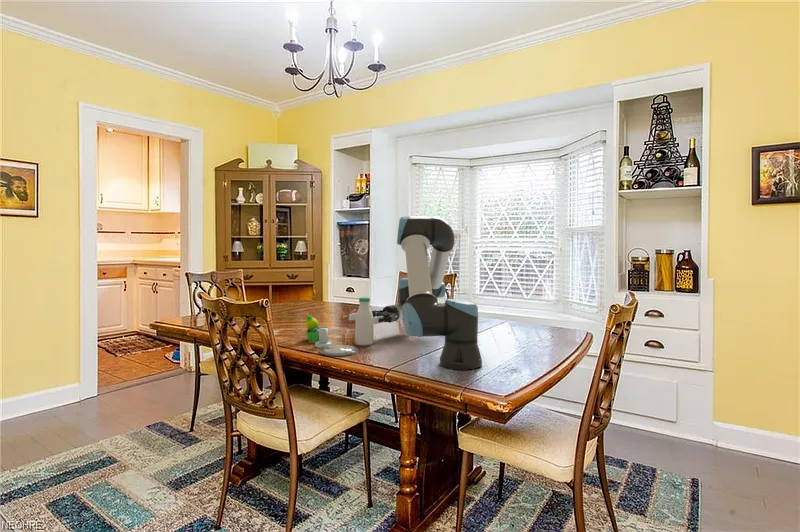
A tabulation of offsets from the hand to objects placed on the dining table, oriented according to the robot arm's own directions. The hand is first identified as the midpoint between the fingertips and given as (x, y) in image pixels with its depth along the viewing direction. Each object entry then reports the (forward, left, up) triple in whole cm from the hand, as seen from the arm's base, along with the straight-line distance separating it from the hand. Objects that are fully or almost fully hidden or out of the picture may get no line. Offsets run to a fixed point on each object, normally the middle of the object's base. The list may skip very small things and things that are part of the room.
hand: (360, 319), depth 193 cm
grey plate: (-7, +13, -11) cm, 18 cm away
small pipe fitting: (+5, +15, -11) cm, 19 cm away
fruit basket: (+17, +14, -11) cm, 24 cm away
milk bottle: (+1, -2, -11) cm, 11 cm away
